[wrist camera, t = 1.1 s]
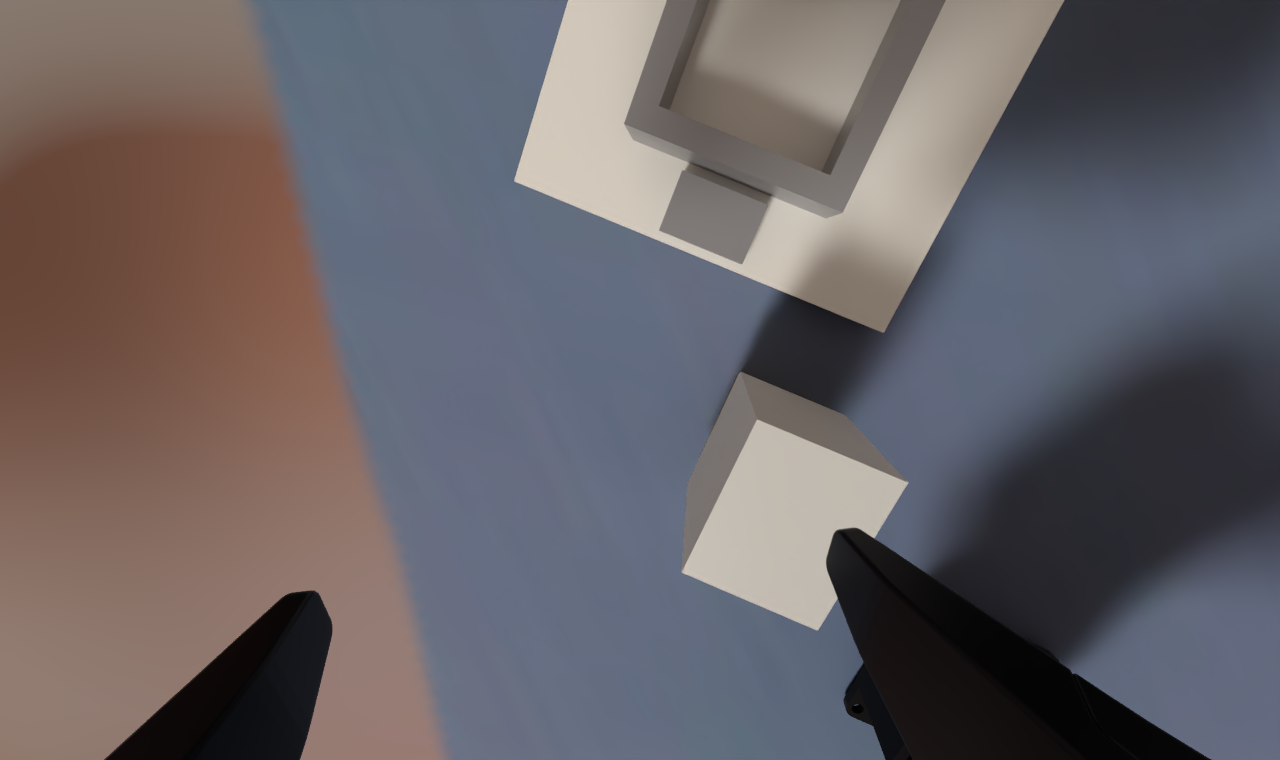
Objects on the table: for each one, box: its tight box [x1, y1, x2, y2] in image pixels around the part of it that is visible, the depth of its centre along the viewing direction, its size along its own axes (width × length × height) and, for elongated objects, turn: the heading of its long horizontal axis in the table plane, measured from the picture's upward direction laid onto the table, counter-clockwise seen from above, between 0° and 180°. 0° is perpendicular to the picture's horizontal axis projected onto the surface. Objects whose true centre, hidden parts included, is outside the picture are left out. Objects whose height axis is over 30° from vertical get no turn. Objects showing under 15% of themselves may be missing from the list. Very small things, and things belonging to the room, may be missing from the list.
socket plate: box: [514, 0, 1064, 333], centre depth 15 cm, size 14×13×4 cm
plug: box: [682, 372, 908, 631], centre depth 16 cm, size 4×5×8 cm
